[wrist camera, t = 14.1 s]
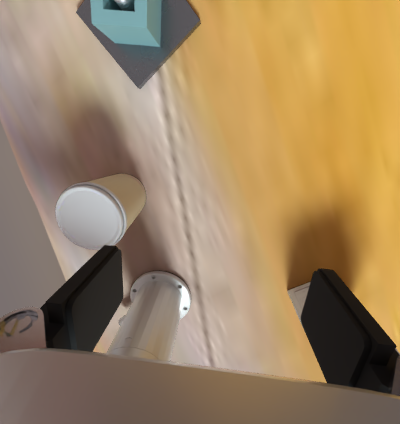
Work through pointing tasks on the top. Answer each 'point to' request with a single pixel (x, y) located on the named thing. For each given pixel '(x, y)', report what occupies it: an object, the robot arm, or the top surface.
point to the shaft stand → (147, 55)
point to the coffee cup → (100, 210)
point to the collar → (128, 21)
